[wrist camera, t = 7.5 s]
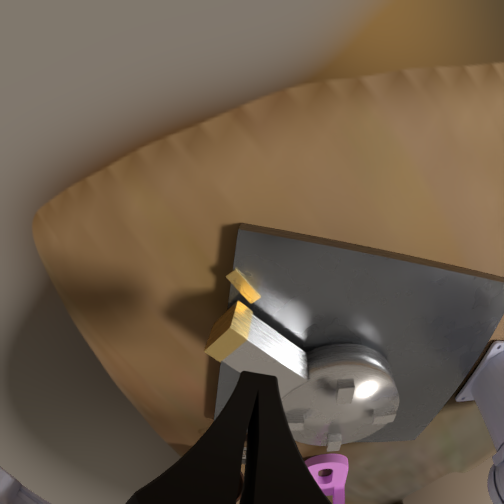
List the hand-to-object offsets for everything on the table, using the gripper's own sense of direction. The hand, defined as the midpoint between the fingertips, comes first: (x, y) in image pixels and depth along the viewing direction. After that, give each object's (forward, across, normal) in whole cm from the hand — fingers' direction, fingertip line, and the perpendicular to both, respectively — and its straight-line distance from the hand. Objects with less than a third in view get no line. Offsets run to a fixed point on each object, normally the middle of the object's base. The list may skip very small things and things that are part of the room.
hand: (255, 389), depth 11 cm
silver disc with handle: (+8, -4, +6) cm, 11 cm away
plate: (+9, -9, +7) cm, 14 cm away
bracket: (+10, -13, +28) cm, 32 cm away
